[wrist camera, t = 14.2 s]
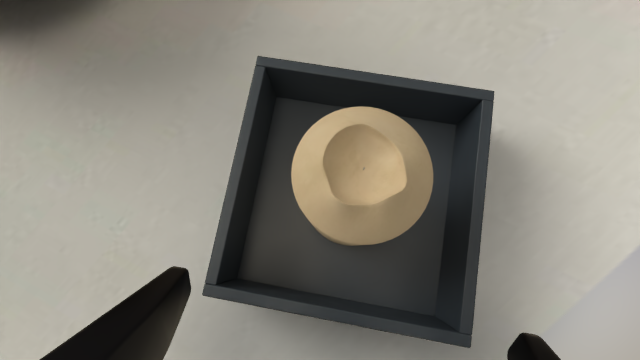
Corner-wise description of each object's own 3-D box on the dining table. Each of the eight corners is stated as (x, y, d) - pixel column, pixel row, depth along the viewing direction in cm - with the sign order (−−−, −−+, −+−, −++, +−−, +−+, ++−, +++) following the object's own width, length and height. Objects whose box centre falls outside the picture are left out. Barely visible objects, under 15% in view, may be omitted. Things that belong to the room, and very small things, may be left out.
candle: (411, 193, 22) (477, 149, 12) (358, 264, 21) (383, 279, 11) (341, 142, 23) (349, 61, 13) (288, 209, 22) (254, 178, 12)
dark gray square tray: (441, 326, 21) (470, 348, 16) (228, 285, 22) (201, 295, 17) (463, 120, 23) (494, 90, 19) (271, 90, 24) (257, 55, 20)
